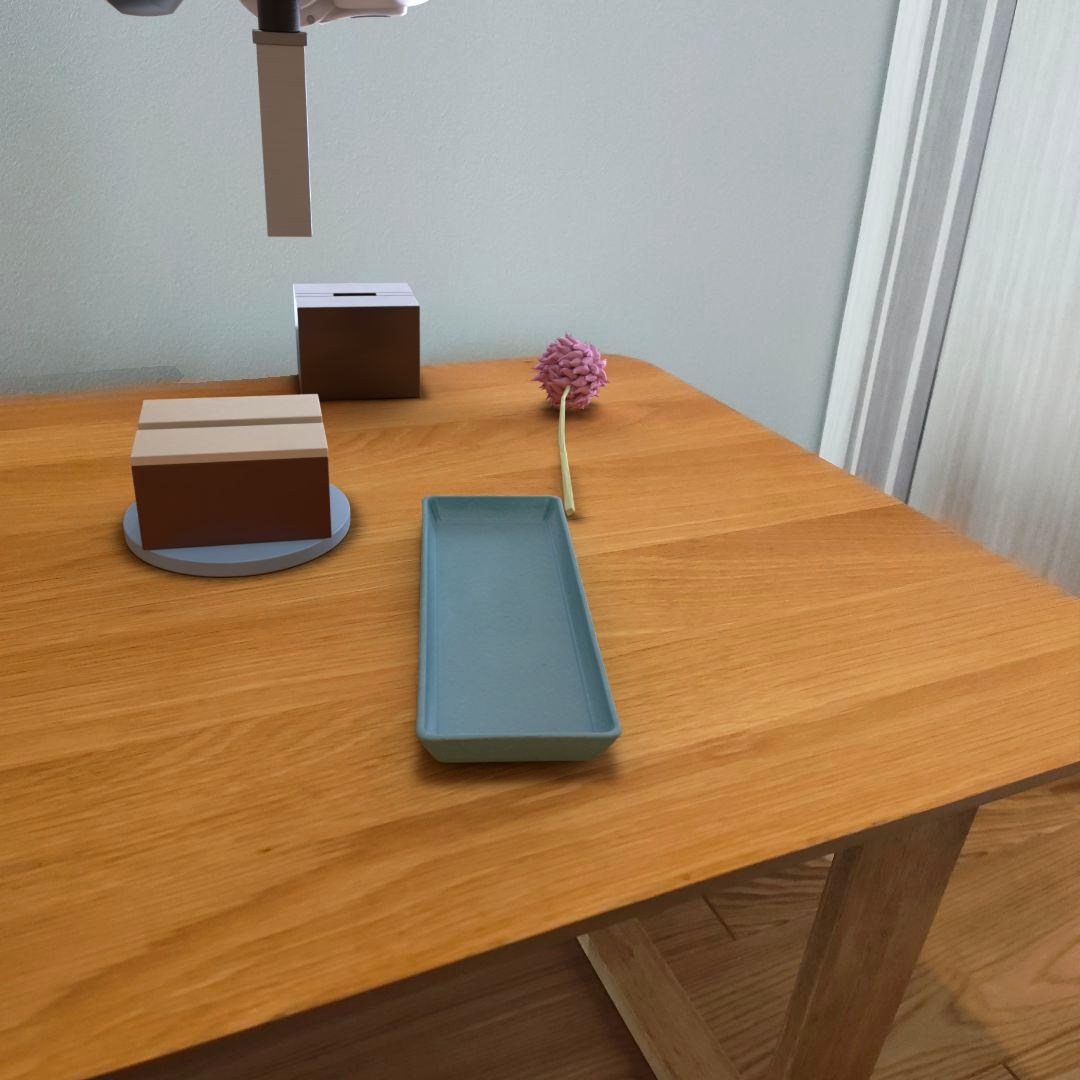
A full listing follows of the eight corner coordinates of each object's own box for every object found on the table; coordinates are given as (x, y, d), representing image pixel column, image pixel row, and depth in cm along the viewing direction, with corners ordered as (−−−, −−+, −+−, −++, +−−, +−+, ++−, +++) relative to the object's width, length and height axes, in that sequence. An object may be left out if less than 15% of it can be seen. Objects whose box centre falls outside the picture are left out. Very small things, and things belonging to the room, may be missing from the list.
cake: (113, 585, 61) (96, 473, 57) (134, 486, 73) (121, 389, 69) (360, 567, 64) (357, 460, 61) (341, 475, 76) (338, 382, 73)
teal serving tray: (421, 522, 70) (421, 487, 69) (558, 523, 71) (561, 489, 70) (414, 783, 47) (414, 738, 46) (619, 780, 48) (624, 735, 46)
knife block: (302, 401, 89) (297, 307, 86) (297, 371, 96) (292, 283, 92) (420, 397, 92) (420, 305, 88) (407, 368, 98) (407, 282, 95)
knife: (265, 240, 71) (241, -154, 61) (264, 232, 74) (240, -149, 64) (316, 240, 72) (301, -148, 62) (313, 232, 75) (298, -144, 64)
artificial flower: (631, 551, 74) (609, 385, 94) (624, 466, 70) (602, 312, 90) (536, 561, 74) (534, 393, 94) (523, 477, 70) (524, 321, 90)
